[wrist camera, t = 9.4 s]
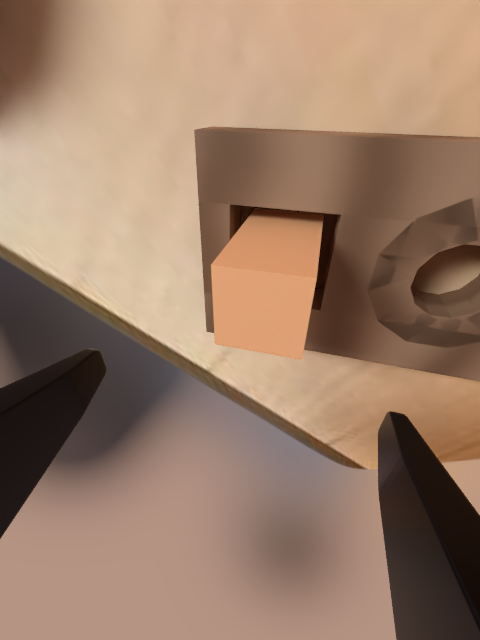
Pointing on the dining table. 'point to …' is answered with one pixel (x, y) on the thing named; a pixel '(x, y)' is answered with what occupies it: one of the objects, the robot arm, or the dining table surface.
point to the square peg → (267, 282)
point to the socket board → (359, 233)
